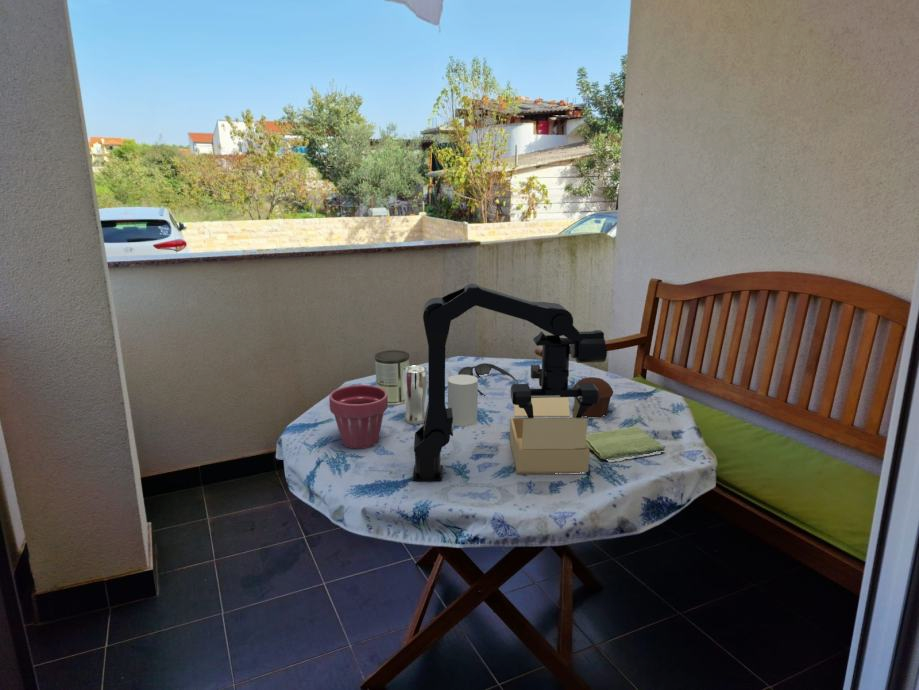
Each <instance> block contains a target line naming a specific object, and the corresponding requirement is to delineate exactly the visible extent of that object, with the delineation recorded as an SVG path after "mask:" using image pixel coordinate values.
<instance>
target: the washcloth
mask: <svg viewBox="0 0 919 690" xmlns="http://www.w3.org/2000/svg"><path fill="white" fill-rule="evenodd" d="M586 444H587V446H588V448H589V450H590V451H591V450H592V451H593V452H594V453H593V452H592V451H591V452H592V453H593V454H595V455H596V456H597V457H598V458H600V460H602V459H603V460H605V459H608V460H615V459H619V458H624V457H632V456H638V455H643V454H650V453H653V452H656V451H664V450H665V451H666V447H665V445H663V444H661V443H660V442H659V441H658V440H657V439H654V438H653V437H650V436H649V435H647V432H646V431H644V430H643V429H642V428H640V427H639V426H635V425H634V426H629V427H626V428H617V429H611V430H606V431H599V432H590V433H587V434H586ZM665 451H664V452H665Z"/></svg>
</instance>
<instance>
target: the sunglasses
mask: <svg viewBox="0 0 919 690" xmlns="http://www.w3.org/2000/svg"><path fill="white" fill-rule="evenodd" d="M493 369H494V370H495V371H497V372H499V373H500V374H501V375H506V376H509V377H510V378H511V379H512V380H513V381H514V384H519V383H518V381H517V379H516V377H514V376H513V374H511V373H510V372H508V371H506V370H505V369H503V368H501V367H499V366H497V365H494V364H493V363H486V362H482V363H479V364H477V365H473V366H464V367H462V368H461V369H459V370H458V372H457V375H471V376H474V372H475V374H476V376H477V377H478V376H479V375H484V374H490V372H491V371H492V370H493ZM478 394H480V395H481V396H482V395H484V396H483V397H485V396H486V394H484V392H481V390H479V389H478ZM486 397H487V396H486Z"/></svg>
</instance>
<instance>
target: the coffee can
mask: <svg viewBox="0 0 919 690" xmlns="http://www.w3.org/2000/svg"><path fill="white" fill-rule="evenodd" d="M374 363H375V364H374V365H375V384H376V385H375V386H376V387H380V388H382V389H384V390H385V391H386V392H387V397H388V406H395V405H403V404H405V400H404V395H403V389H402V372H403V370H402V369H403V368H404V367H406V366H410V353H409V352H407V351H403V350H398V349H395V350H394V349H390V350H383V351H380V352H376V353H375V354H374Z"/></svg>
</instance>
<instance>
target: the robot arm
mask: <svg viewBox="0 0 919 690" xmlns="http://www.w3.org/2000/svg"><path fill="white" fill-rule="evenodd" d="M473 307H479V308H484V309H487V310H490V311H492V312H495V313H500V314H503V315H506V316H510V317H514V318H516V319H517V318H518V319H521V320H524V321H527V322H529V323H531V324H532V325H534V326H536V327H538V328H540V329H541V330H543V331H545V332H547V333H550V334H545V333H544V332H543V331H540V332H539V333H538V334H537V335H536V336H534V337H533V339H532V340H533V342H534V344H535V345H536V346H539V347H540V346H542V348H541V349H542V354H541V358H542V359H541V365H540V364H531V365H530V379H532V380H533V379H534V380H535V379H536V380H537V379H538V384H539V387H540V388H531V387H530V385H529V383H518V384H516V383H512V384H511V386H510V400H511V403H512V404H513V406H514V405H518V406H519V408H524V410H525V412H526V414H527V416H528V417H527V418H535V417H534V416H533V406H532V403H531V398H549V397H568V398H573V399H574V405H573V410H572V411H573V412H572V416H571V418H583V416H582V415H583V414H584V413H585V411H586V410H587V409H588V407H592V406H593V403H599V400H600V393H599V391H598V389H597V388H596V386H595V385H594V384H593V383H577V382H576V383H577V385H576V388H573V387H570V388H569V376H570V372H569V369H570V357H571V358H572V359H575V361H576V363H577V364H584V363H585V364H586V363H604V362H605V361H606V360H607V356H608V349H607V345H606V340H605V332H603V331H602V330H601V329H598V330H597V329H596V330H592V331H591V330H590V331H579V330H578V329H577V327H575V326H574V317H573V315H572V313H571V312H570V311H569V310H567V309H566V308H565V307H564V306H563V305H562V304H560V303H557V302H548V301H546V302H545V301H531V300H527V299H523V298H520V297H516V296H513V295H510V294H506V293H503V292H499V291H496V290H493V289H490V288H486V287H483V286H480V285H479V284H477V283H469V284H466V285H465V286H464V287H462V288H460V289H456V290H455V291H452V292H451V293H448V294H446V295H444V296H442V297H438V296H437V297H432V298H430V299H428V300H427V301H426V302H425V303H424V305H423V310H422V319H423V325H424V331H425V332H424V333H425V337H426V340H427V345H428V346H427V347H428V348H427V349H428V351H427V352H428V365H427V366H428V370H427V378H428V389H427V397H428V399H427V400H428V401H427V406H426V408H425V413H426V414H425V419H424V423H423V424H422V425H421V427H420V428H419V429H417V430H416V431H415V432H414V442H413V452H414V465H413V467H414V468H413V473H412V481H413V480H414V481H415V482H420V481H421V482H425V481H426V482H427V481H428V482H429V481H430V482H431V481H432V482H435V481H437V482H438V481H439V482H441V481H443V467H444V465H442V464H441V460H442V459H441V458H442V457H441V451H442V448H444V447H445V446H447V445H448V444H449V443H450V438H451V437H453V436H454V430H453V425H452V423H453V413H452V408H448V407H447V406H446V345H447V340H448V337H449V334H450V333H449V332H450V327H451V322H452V321H453V320H455V319H457V318H458V317H460V316H462V315H463V314H464V313H466V312H467V311H469V310H470V309H472V308H473ZM562 336H564V337H562Z"/></svg>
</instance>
